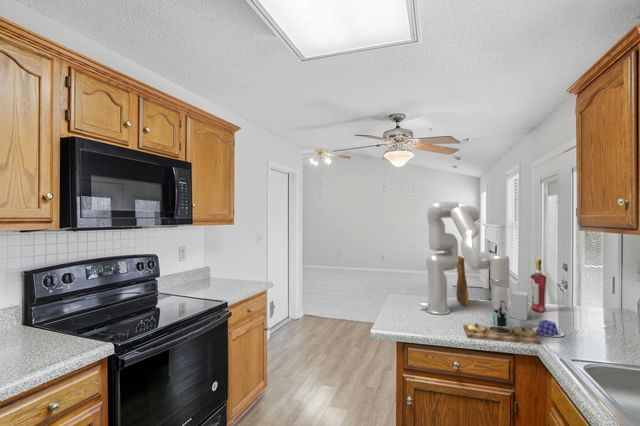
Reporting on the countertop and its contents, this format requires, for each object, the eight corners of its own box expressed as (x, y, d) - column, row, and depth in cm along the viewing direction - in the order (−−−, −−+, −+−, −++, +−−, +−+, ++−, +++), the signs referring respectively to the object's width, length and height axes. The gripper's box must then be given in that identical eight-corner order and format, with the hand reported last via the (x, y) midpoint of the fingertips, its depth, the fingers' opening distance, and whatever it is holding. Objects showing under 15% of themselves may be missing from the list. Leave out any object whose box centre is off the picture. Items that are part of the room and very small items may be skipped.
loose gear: (494, 326, 149) (494, 314, 149) (491, 322, 154) (491, 311, 154) (508, 327, 147) (508, 315, 147) (505, 323, 153) (505, 311, 153)
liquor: (527, 309, 190) (527, 258, 189) (541, 309, 189) (541, 258, 189) (535, 313, 182) (535, 260, 182) (549, 313, 182) (549, 260, 182)
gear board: (467, 338, 148) (467, 327, 148) (463, 327, 161) (463, 318, 161) (540, 344, 141) (540, 333, 141) (530, 333, 154) (530, 323, 154)
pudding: (570, 336, 151) (570, 324, 151) (551, 339, 147) (551, 327, 147) (544, 327, 162) (544, 316, 162) (525, 330, 158) (526, 319, 158)
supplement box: (526, 320, 171) (526, 295, 170) (510, 317, 175) (510, 293, 175) (528, 316, 177) (528, 292, 176) (512, 314, 181) (512, 290, 181)
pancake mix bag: (458, 306, 195) (458, 257, 195) (452, 298, 214) (452, 253, 213) (470, 307, 194) (471, 258, 193) (464, 298, 212) (464, 253, 212)
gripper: (486, 278, 160) (486, 317, 160) (494, 286, 143) (495, 329, 144) (504, 279, 158) (504, 318, 158) (514, 287, 141) (514, 331, 142)
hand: (499, 323), depth 151 cm, fingers closed on loose gear, 5 cm apart
